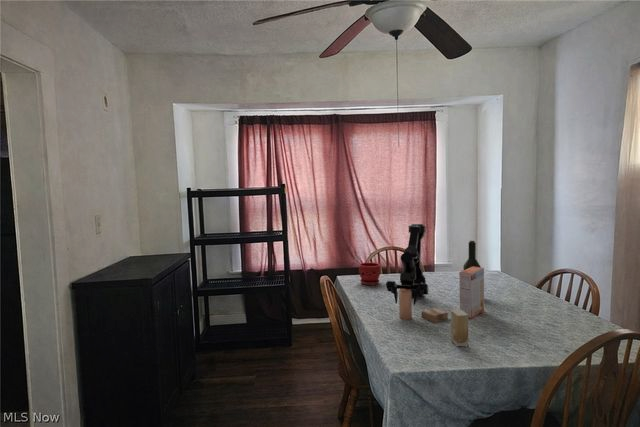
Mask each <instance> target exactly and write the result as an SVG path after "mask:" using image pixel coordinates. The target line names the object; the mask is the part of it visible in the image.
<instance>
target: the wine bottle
mask: <svg viewBox="0 0 640 427" xmlns="http://www.w3.org/2000/svg"><path fill="white" fill-rule="evenodd" d="M476 243H477V242H475V240H469V242H468V258H467V260H466V261H465V262H464V264H463V270H466V269H468V268H470V267H480V268H482V266H481V265H480V263H479V261H478V260H477V259H476V257H477V256H476V255H477V251H476V249H477V248H476V246H477V244H476Z"/></svg>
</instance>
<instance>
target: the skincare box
mask: <svg viewBox="0 0 640 427" xmlns="http://www.w3.org/2000/svg"><path fill="white" fill-rule="evenodd" d="M469 319H470V318H469V315H468V314H466V313H465V312H464V311H462V310H460V309H451V310H450V341H451V342H452V343H453V344H454V345H455V346H456V345H457V346H465V347H467V346H466V345H468V346H469V323H470V322H469ZM457 346H456V347H457Z"/></svg>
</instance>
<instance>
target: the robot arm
mask: <svg viewBox="0 0 640 427" xmlns="http://www.w3.org/2000/svg"><path fill="white" fill-rule="evenodd" d="M426 230H427V228H426V225H424V223H411V225H408V233H409V238H408V239H409V240H408V245H407V247H406V248H405V249H404V253H402V254H401V255H400V261H401V266H402V269H403V270H402V272H400V274H399V280H400V281H399V282H400V283H399V284H397V283H396V281H394V280H387V281H386V283H385V287H386V290H387V291H388V292H390V293H391V294H393V296H394V302H395V304H397V303H398V299H399V291H398V290H400V289H402V288H408V289H410V290H411V291H412V298H413V303H412V304H413V305H412V306H416V303H417V302H418V301H419V299H421V298H424V297H426V295H429V284H427V283H426V282H427V281H426V277H425V275H424V271H423V269H422V268H421V262H422V260H421V259H422V257H421V254H422V240H423V239H424V237H425V233H426V232H427V231H426Z"/></svg>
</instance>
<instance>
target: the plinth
mask: <svg viewBox="0 0 640 427" xmlns="http://www.w3.org/2000/svg"><path fill="white" fill-rule="evenodd" d="M448 314H449V312H446V311H444V310H441V309H438V308H435V307H433V308H429V309H426V310H422V311H421V318H422V319H424V320H427V321H430V322H432V323H439V322H442V321H446V320H449V318H448V317H449V316H448Z"/></svg>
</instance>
